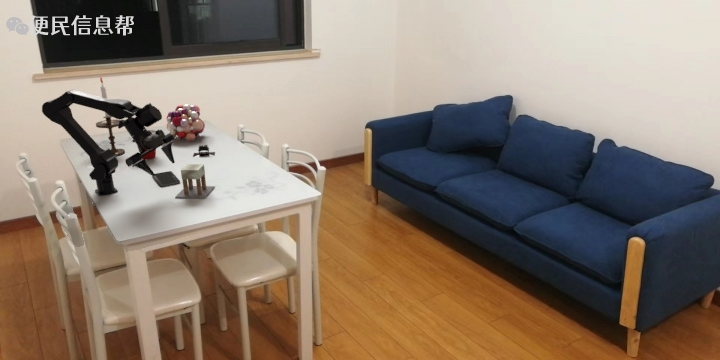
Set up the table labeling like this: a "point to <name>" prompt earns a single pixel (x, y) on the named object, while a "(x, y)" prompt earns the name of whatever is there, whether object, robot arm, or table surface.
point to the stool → (193, 177)
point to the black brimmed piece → (203, 148)
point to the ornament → (185, 122)
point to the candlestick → (109, 125)
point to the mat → (194, 193)
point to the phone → (166, 179)
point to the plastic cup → (152, 153)
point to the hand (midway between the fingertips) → (164, 169)
